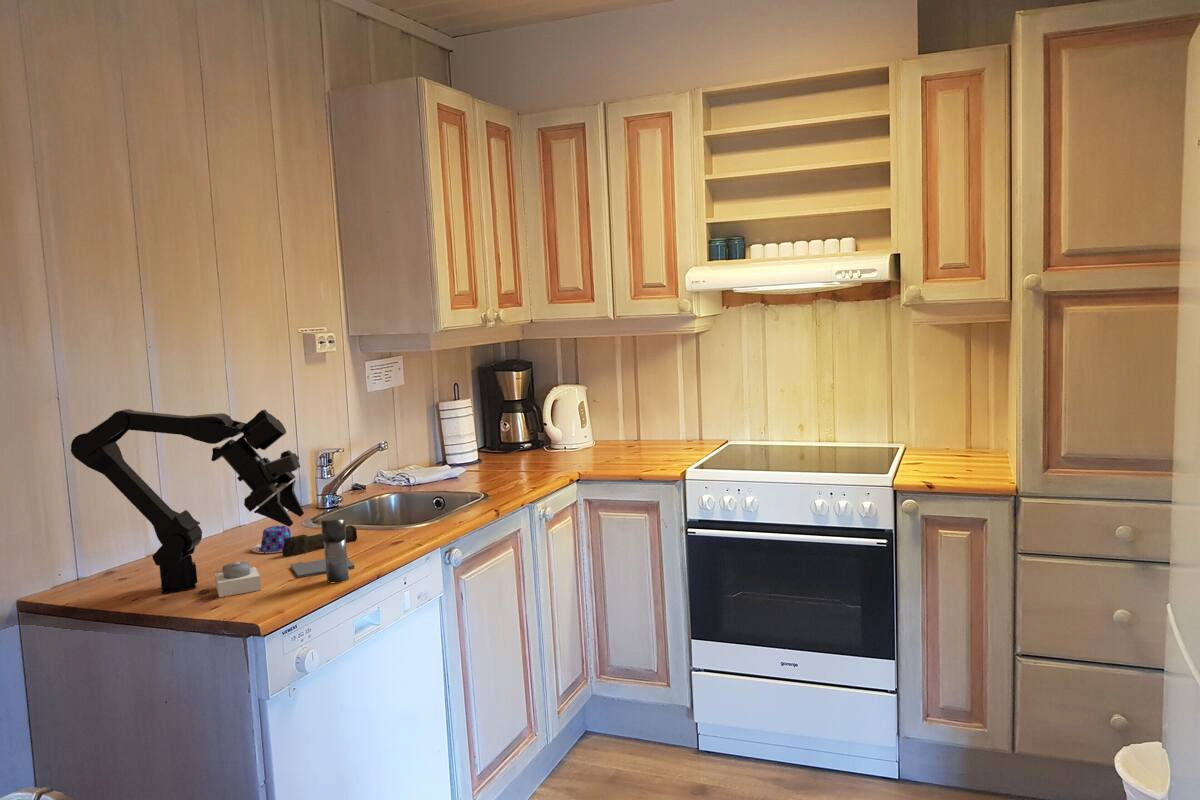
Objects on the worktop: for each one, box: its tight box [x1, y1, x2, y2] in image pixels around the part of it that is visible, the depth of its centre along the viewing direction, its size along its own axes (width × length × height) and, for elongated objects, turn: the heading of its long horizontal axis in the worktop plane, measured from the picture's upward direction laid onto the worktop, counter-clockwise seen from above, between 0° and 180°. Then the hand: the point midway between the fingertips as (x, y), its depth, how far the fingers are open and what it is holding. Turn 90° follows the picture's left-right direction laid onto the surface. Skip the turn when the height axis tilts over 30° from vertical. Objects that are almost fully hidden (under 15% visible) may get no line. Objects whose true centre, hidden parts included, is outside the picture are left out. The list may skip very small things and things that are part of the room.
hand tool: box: [282, 524, 358, 557], centre depth 217 cm, size 19×4×5 cm, turn 135°
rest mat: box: [290, 557, 355, 579], centre depth 199 cm, size 12×10×1 cm
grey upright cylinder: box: [320, 516, 350, 583], centre depth 188 cm, size 5×5×13 cm
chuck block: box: [214, 561, 262, 598], centre depth 186 cm, size 8×8×6 cm
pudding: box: [251, 525, 293, 554], centre depth 219 cm, size 12×12×5 cm
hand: (297, 520), depth 190 cm, fingers open, 9 cm apart
